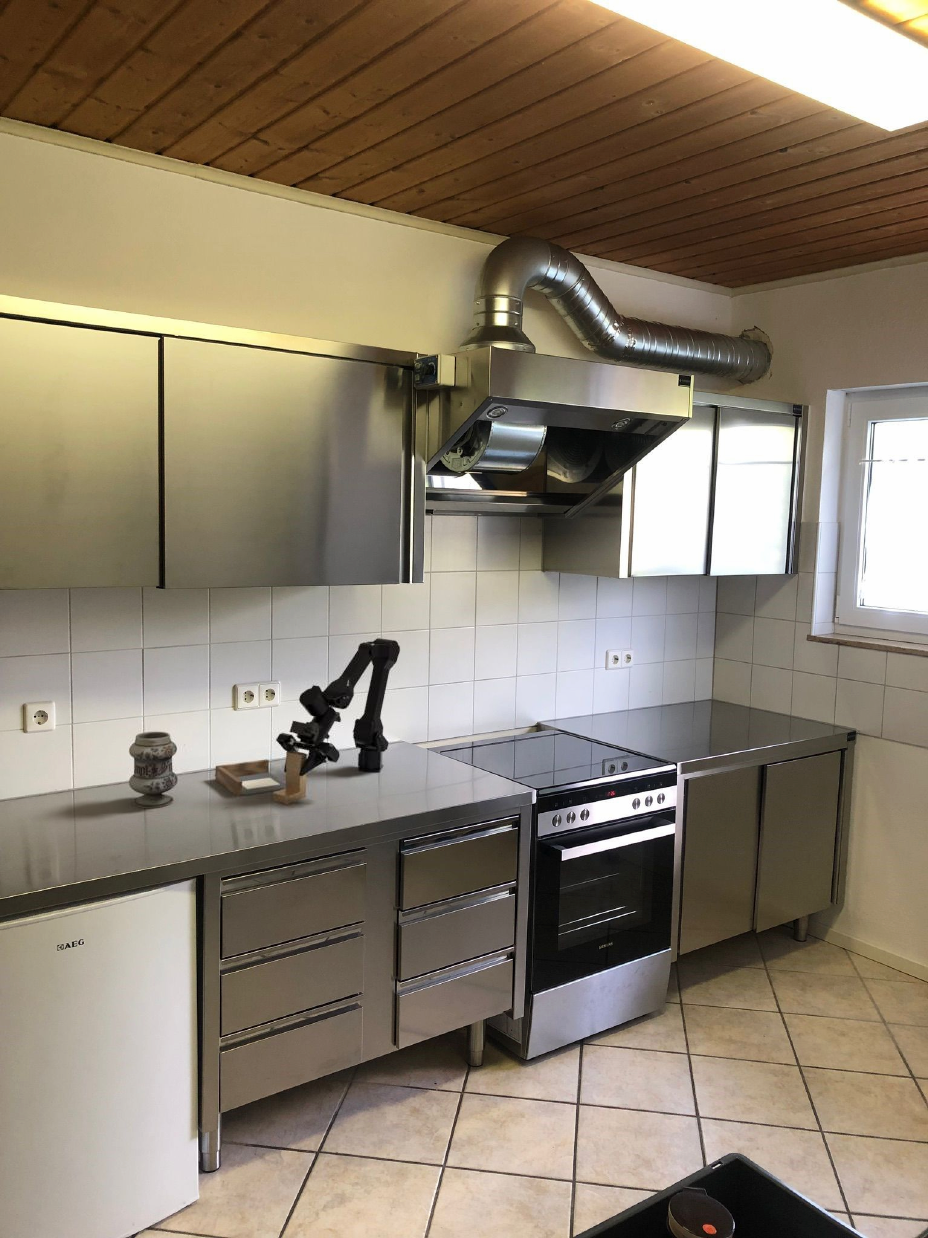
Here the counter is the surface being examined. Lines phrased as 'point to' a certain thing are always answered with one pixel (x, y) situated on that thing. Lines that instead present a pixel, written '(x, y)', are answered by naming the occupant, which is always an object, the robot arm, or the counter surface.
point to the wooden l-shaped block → (293, 779)
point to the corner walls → (239, 773)
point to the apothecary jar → (153, 769)
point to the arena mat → (260, 784)
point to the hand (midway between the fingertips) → (292, 773)
